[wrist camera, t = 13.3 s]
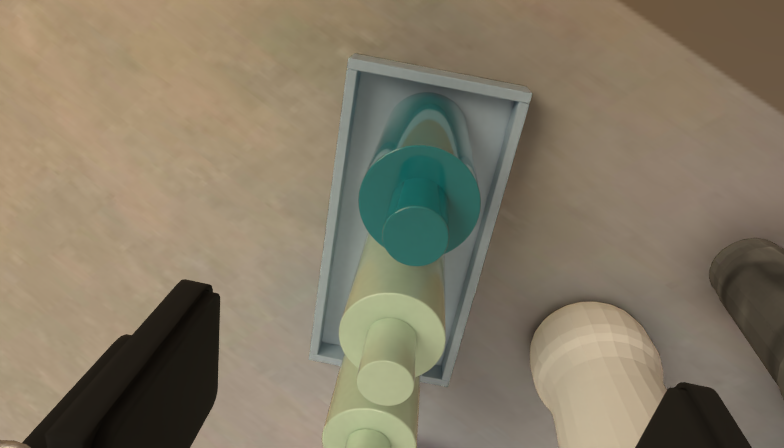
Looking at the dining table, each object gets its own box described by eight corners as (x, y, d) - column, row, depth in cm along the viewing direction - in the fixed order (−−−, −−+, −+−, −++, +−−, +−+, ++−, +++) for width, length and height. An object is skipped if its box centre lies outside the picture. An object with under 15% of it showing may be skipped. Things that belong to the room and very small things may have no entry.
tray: (354, 52, 30) (348, 57, 28) (527, 86, 30) (532, 93, 28) (314, 341, 39) (308, 360, 37) (447, 368, 39) (447, 387, 37)
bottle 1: (375, 193, 33) (333, 323, 20) (452, 207, 33) (458, 348, 20) (363, 260, 35) (318, 416, 22) (436, 274, 35) (432, 439, 22)
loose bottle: (392, 84, 30) (356, 157, 17) (477, 100, 30) (503, 186, 17) (378, 165, 32) (337, 283, 19) (458, 180, 32) (468, 308, 19)
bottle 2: (359, 285, 36) (313, 448, 23) (429, 299, 36) (423, 470, 23) (349, 341, 38) (303, 520, 25) (416, 355, 38) (403, 540, 25)
